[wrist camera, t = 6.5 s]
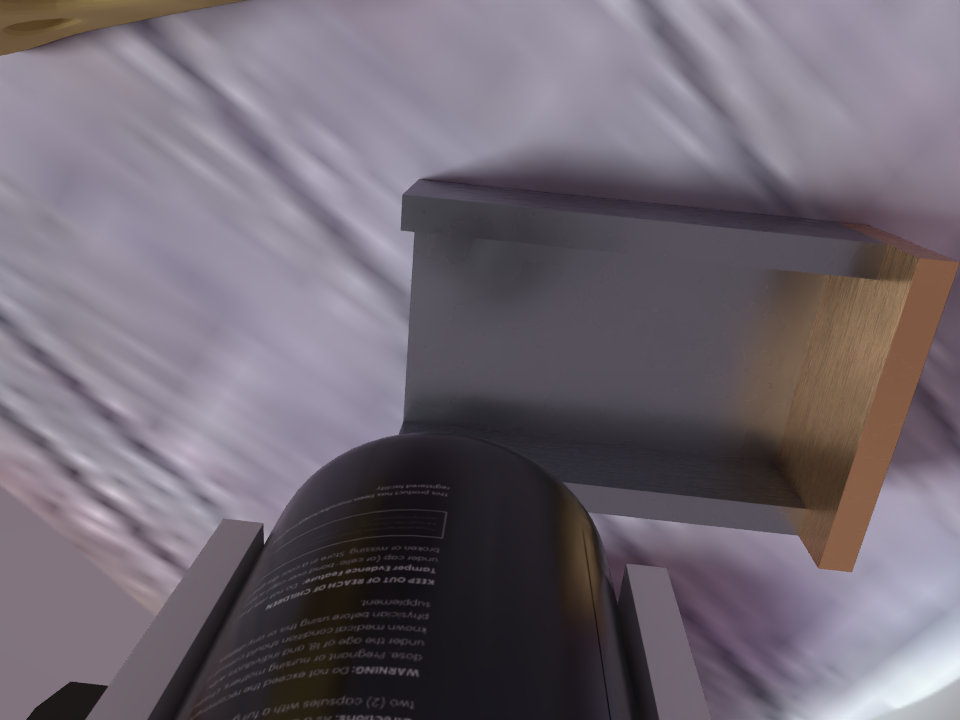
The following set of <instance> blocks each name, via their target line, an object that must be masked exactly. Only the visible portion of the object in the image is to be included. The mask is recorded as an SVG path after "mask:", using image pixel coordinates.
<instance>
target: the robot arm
mask: <svg viewBox="0 0 960 720" xmlns="http://www.w3.org/2000/svg"><path fill="white" fill-rule="evenodd" d="M263 546H264V531H263V523H258V522H249V521H240V520H231V519H223V520H222V522H221V523H220V525H219V526H218V528H217V529H216V531H215V532H214V534H213V535H212V536H211V538H210V539H209V541H208V542H207V544H206V545H205V547H204V548H203V550H202V551H201V552H200V554H199V555H198V557H197V558H196V560H195V561H194V563H193V564H192V566H191V567H190V568H189V570H188V571H187V573H186V574H185V576H184V577H183V579H182V580H181V581H180V583H179V584H178V586H177V587H176V589H175V590H174V592H173V593H172V595H171V596H170V597H169V599H168V600H167V602H166V603H165V605H164V606H163V608H162V609H161V611H160V612H159V613H158V615H157V616H156V618H155V620H154V621H153V622H152V624H151V625H150V627H149V628H148V629H147V631H146V632H145V634H144V635H143V637H142V638H141V640H140V641H139V643H138V644H137V645H136V647H135V648H134V650H133V651H132V653H131V654H130V656H129V657H128V659H127V660H126V661H125V663H124V664H123V666H122V667H121V669H120V670H119V672H118V673H117V675H116V676H115V678H114V679H113V681H112V682H111V683H110V685H109V686H104V685H96V684H87V683H78V682H70V683H68V684H67V685H65V686H64V687H63V688H61V689H60V690H59V691H57V692H56V693H55V694H53V695H52V696H51V697H49V698H48V699H47V700H45V701H44V702H43V703H41V704H40V705H39V706H37V707H36V708H35V709H34V711H33V712H32V713H31V714H30V716H29V717H28V718H27V720H171V719H172V717H173V716H174V714H175V712H176V710H177V708H178V706H179V704H180V702H181V700H182V699H183V697H184V695H185V693H186V691H187V689H188V687H189V685H190V683H191V682H192V680H193V678H194V676H195V674H196V672H197V670H198V668H199V666H200V665H201V663H202V661H203V659H204V657H205V655H206V653H207V651H208V650H209V648H210V646H211V644H212V642H213V640H214V638H215V636H216V634H217V633H218V631H219V629H220V627H221V625H222V623H223V621H224V619H225V617H226V616H227V614H228V612H229V610H230V608H231V606H232V604H233V602H234V600H235V599H236V597H237V595H238V593H239V591H240V589H241V587H242V585H243V584H244V582H245V580H246V578H247V576H248V574H249V572H250V570H251V568H252V567H253V565H254V563H255V561H256V559H257V557H258V555H259V553H260V552H261V550H262V548H263ZM618 611H619V616H620V621H621V626H622V631H623V636H624V642H625V647H626V652H627V657H628V662H629V667H630V673H631V678H632V683H633V688H634V693H635V698H636V703H637V709H638V714H639V719H640V720H711V716H710V713H709V710H708V706H707V703H706V700H705V696H704V693H703V689H702V686H701V683H700V679H699V676H698V672H697V669H696V666H695V662H694V659H693V656H692V652H691V649H690V645H689V642H688V639H687V635H686V632H685V629H684V625H683V622H682V618H681V615H680V612H679V608H678V605H677V601H676V598H675V595H674V591H673V588H672V585H671V581H670V578H669V574H668V571H667V568H662V567H653V566H644V565H635V564H626V566H625V571H624V576H623V581H622V586H621V591H620V596H619V601H618Z"/></svg>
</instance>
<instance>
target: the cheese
mask: <svg viewBox="0 0 960 720" xmlns="http://www.w3.org/2000/svg"><path fill="white" fill-rule="evenodd" d="M239 1H244V0H0V56H1V55H6V54H11V53H15V52H19V51H23V50H27V49H31V48H34V47H37V46H41V45H44V44H47V43H50V42H53V41H55V40H58V39H61V38H65V37H68V36H71V35H75V34H79V33H83V32H87V31H91V30H95V29H100V28H105V27H111V26H116V25H121V24H126V23H131V22H136V21H141V20H146V19H151V18H156V17H160V16H165V15H170V14H175V13H180V12H185V11H190V10H196V9H201V8H207V7H212V6H218V5H224V4H229V3H234V2H239Z"/></svg>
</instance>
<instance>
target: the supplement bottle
mask: <svg viewBox="0 0 960 720" xmlns="http://www.w3.org/2000/svg"><path fill="white" fill-rule="evenodd" d="M171 720H640V719H639V714H638V709H637V703H636V698H635V693H634V688H633V683H632V678H631V673H630V667H629V662H628V657H627V652H626V647H625V642H624V636H623V631H622V626H621V621H620V616H619V611H618V606H617V601H616V596H615V591H614V587H613V582H612V578H611V574H610V569H609V565H608V560H607V556H606V552H605V549H604V547H603V544H602V541H601V538H600V535H599V533H598V531H597V529H596V526H595V524H594V522H593V520H592V519H591V517H590V516H589V514H588V512H587V511H586V509H585V508H584V506H583V505H582V504H581V503H580V501H579V500H578V499H577V497H576V496H575V495H574V494H573V492H572V491H571V490H570V489H569V488H568V487H567V486H566V485H565V484H564V483H563V482H562V481H561V480H560V479H558V478H557V477H556V476H555V475H554V474H552V473H551V472H550V471H549V470H547V469H546V468H544V467H543V466H542V465H540V464H539V463H537V462H536V461H534V460H532V459H530V458H529V457H527V456H525V455H523V454H521V453H520V452H517V451H515V450H513V449H511V448H508V447H506V446H503V445H501V444H498V443H495V442H492V441H489V440H485V439H481V438H477V437H473V436H468V435H461V434H455V433H442V432H418V433H409V434H400V435H395V436H390V437H385V438H382V439H378V440H375V441H372V442H368V443H366V444H363V445H361V446H358V447H356V448H353V449H351V450H350V451H348V452H346V453H344V454H342V455H340V456H338V457H337V458H335V459H334V460H332V461H331V462H329V463H328V464H326V465H325V466H323V467H322V468H321V469H320V470H318V471H317V472H316V473H315V474H314V475H312V476H311V477H310V478H309V479H308V480H307V481H306V482H305V483H304V484H303V485H302V486H301V487H300V489H299V490H298V491H297V492H296V494H295V495H294V496H293V498H292V499H291V500H290V502H289V503H288V505H287V506H286V508H285V509H284V511H283V513H282V514H281V516H280V518H279V520H278V521H277V523H276V525H275V527H274V528H273V530H272V532H271V534H270V536H269V537H268V539H267V541H266V542H265V544H264V546H263V548H262V550H261V552H260V553H259V555H258V557H257V559H256V561H255V563H254V565H253V567H252V568H251V570H250V572H249V574H248V576H247V578H246V580H245V582H244V584H243V585H242V587H241V589H240V591H239V593H238V595H237V597H236V599H235V600H234V602H233V604H232V606H231V608H230V610H229V612H228V614H227V616H226V617H225V619H224V621H223V623H222V625H221V627H220V629H219V631H218V633H217V634H216V636H215V638H214V640H213V642H212V644H211V646H210V648H209V650H208V651H207V653H206V655H205V657H204V659H203V661H202V663H201V665H200V666H199V668H198V670H197V672H196V674H195V676H194V678H193V680H192V682H191V683H190V685H189V687H188V689H187V691H186V693H185V695H184V697H183V699H182V700H181V702H180V704H179V706H178V708H177V710H176V712H175V714H174V716H173V717H172V719H171Z"/></svg>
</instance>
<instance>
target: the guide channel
mask: <svg viewBox="0 0 960 720" xmlns="http://www.w3.org/2000/svg"><path fill="white" fill-rule="evenodd" d="M401 230H402V231H412V232H415V234H414V251H413V268H412V285H411V302H410V319H409V336H408V353H407V370H406V387H405V404H404V421H403V424H402V427H401V430H400V433H399V435H400V434H409V433H418V432H442V433H455V434H461V435H468V436H473V437H477V438H481V439H485V440H489V441H492V442H495V443H498V444H501V445H503V446H506V447H508V448H511V449H513V450H515V451H517V452H520V453H521V454H523V455H525V456H527V457H529V458H530V459H532V460H534V461H536V462H537V463H539V464H540V465H542V466H543V467H544V468H546V469H547V470H549V471H550V472H551V473H552V474H554V475H555V476H556V477H557V478H558V479H560V480H561V481H562V482H563V483H564V484H565V485H566V486H567V487H568V488H569V489H570V490H571V491H572V492H573V494H574V495H575V496H576V497H577V499H578V500H579V501H580V503H581V504H582V505H583V506H584V508H585V509H586V511H587V512H591V513H600V514H609V515H618V516H627V517H636V518H645V519H654V520H663V521H672V522H681V523H690V524H699V525H708V526H717V527H726V528H735V529H744V530H753V531H762V532H771V533H780V534H789V535H798V536H799V537H800V539H801V541H802V542H803V544H804V546H805V547H806V549H807V551H808V552H809V554H810V555H811V557H812V559H813V560H814V562H815V564H816V565H817V567H818V568H819V569H828V570H837V571H846V572H852V570H853V568H854V565H855V562H856V559H857V556H858V553H859V550H860V547H861V545H862V542H863V539H864V536H865V533H866V530H867V527H868V525H869V522H870V519H871V516H872V513H873V510H874V507H875V504H876V502H877V499H878V496H879V493H880V490H881V487H882V484H883V481H884V479H885V476H886V473H887V470H888V467H889V464H890V461H891V458H892V456H893V453H894V450H895V447H896V444H897V441H898V438H899V435H900V433H901V430H902V427H903V424H904V421H905V418H906V415H907V412H908V410H909V407H910V404H911V401H912V398H913V395H914V392H915V390H916V387H917V384H918V381H919V378H920V375H921V372H922V369H923V367H924V364H925V361H926V358H927V355H928V352H929V349H930V346H931V344H932V341H933V338H934V335H935V332H936V329H937V326H938V323H939V321H940V318H941V315H942V312H943V309H944V306H945V303H946V300H947V298H948V295H949V292H950V289H951V286H952V283H953V280H954V278H955V275H956V272H957V269H958V266H959V263H960V262H957V261H955V260H952V259H950V258H947V257H945V256H943V255H940V254H938V253H935V252H933V251H930V250H928V249H925V248H923V247H921V246H918V245H916V244H913V243H911V242H908V241H906V240H903V239H901V238H899V237H896V236H894V235H891V234H889V233H886V232H884V231H881V230H879V229H877V228H874V227H872V226H869V225H860V224H850V223H840V222H830V221H821V220H811V219H801V218H791V217H782V216H772V215H762V214H752V213H743V212H733V211H723V210H713V209H704V208H694V207H684V206H674V205H665V204H655V203H645V202H635V201H626V200H616V199H606V198H596V197H587V196H577V195H567V194H557V193H548V192H538V191H528V190H518V189H509V188H499V187H489V186H479V185H469V184H460V183H450V182H440V181H430V180H421V179H419V180H418V181H417V182H416V183H415V184H413V185H412V186H411V187H410V188H409V189H408V190H407V191H406V192H405V193H404V194H403V197H402V216H401Z"/></svg>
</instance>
